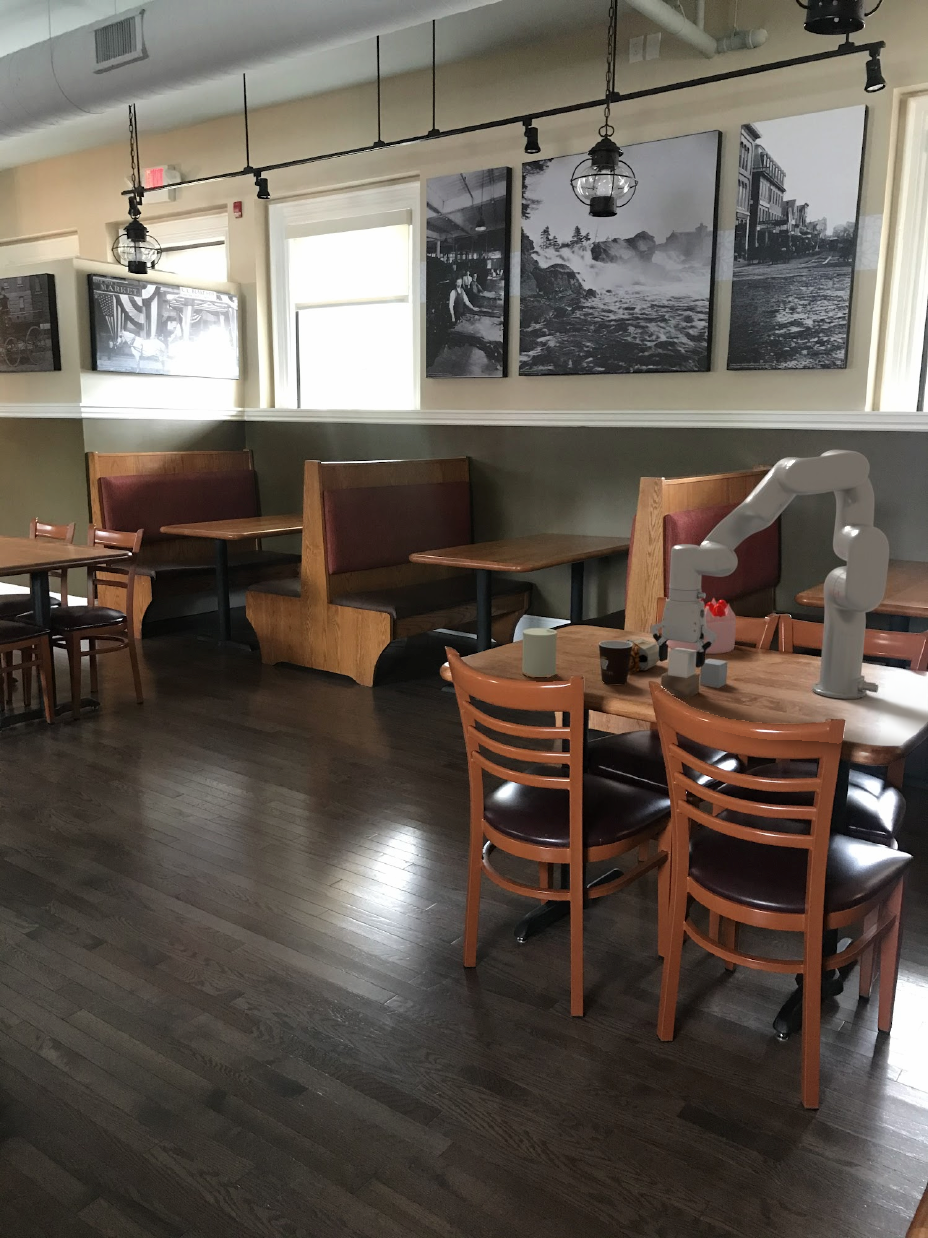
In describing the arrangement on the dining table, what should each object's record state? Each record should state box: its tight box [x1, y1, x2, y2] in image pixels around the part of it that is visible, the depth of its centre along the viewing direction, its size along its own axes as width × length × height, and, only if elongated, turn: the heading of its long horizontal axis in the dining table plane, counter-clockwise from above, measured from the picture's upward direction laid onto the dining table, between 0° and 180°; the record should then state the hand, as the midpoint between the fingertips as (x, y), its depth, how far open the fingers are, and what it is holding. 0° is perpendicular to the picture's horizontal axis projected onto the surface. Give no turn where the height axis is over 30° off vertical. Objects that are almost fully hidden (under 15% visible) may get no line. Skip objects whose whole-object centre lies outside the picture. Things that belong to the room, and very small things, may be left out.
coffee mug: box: [598, 640, 636, 685], centre depth 249 cm, size 12×9×10 cm
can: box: [521, 627, 558, 676], centre depth 258 cm, size 9×9×12 cm
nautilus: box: [624, 638, 660, 675], centre depth 264 cm, size 8×22×15 cm
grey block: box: [699, 658, 729, 689], centre depth 249 cm, size 5×5×6 cm
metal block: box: [660, 671, 700, 699], centre depth 241 cm, size 7×7×5 cm
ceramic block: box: [667, 648, 696, 678], centre depth 239 cm, size 5×5×6 cm
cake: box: [666, 597, 737, 655], centre depth 290 cm, size 20×20×14 cm
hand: (681, 663), depth 240 cm, fingers open, 9 cm apart
